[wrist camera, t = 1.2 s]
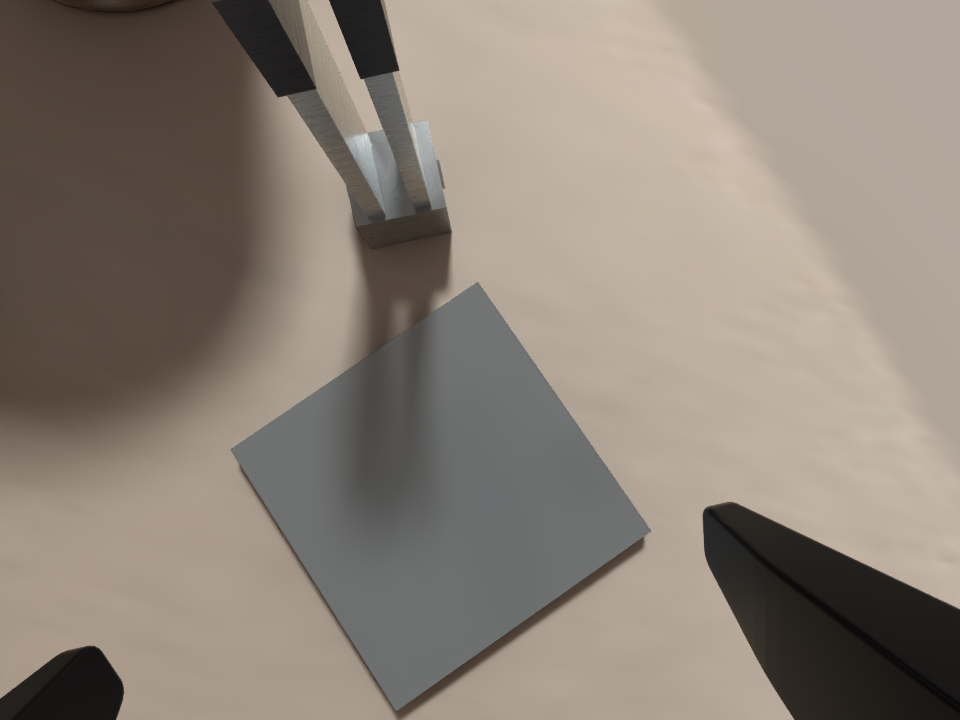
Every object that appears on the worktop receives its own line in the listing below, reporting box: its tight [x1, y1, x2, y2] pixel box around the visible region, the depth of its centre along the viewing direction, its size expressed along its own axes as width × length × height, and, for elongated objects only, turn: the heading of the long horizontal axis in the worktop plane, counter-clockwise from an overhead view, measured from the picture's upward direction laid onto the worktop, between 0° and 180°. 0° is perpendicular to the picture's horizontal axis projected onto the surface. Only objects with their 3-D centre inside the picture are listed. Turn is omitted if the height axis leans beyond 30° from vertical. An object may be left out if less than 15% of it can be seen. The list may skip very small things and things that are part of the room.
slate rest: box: [230, 282, 651, 711], centre depth 18 cm, size 11×11×1 cm
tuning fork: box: [212, 0, 452, 249], centre depth 14 cm, size 3×3×12 cm
